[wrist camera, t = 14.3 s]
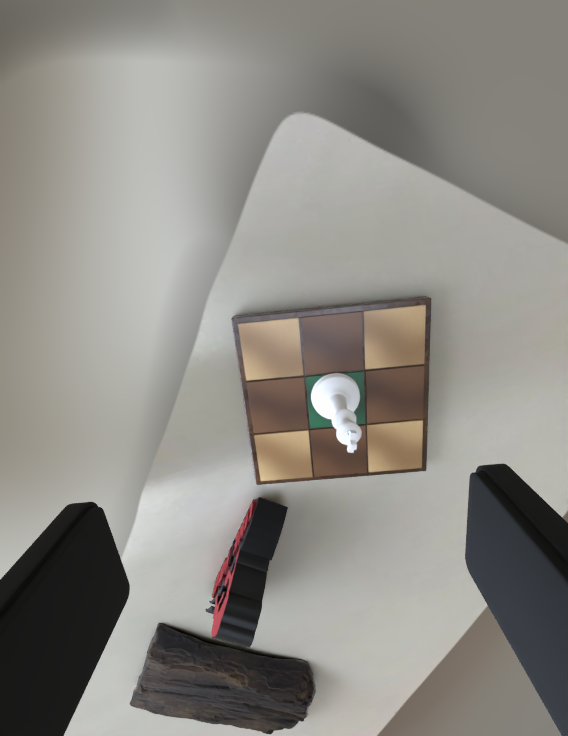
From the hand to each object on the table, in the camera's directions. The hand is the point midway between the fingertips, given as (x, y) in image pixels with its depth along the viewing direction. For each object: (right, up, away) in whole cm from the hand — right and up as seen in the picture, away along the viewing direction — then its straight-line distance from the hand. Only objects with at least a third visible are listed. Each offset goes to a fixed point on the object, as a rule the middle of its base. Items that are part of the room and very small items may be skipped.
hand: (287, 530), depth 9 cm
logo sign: (-5, -18, +34) cm, 39 cm away
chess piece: (+5, +1, +26) cm, 27 cm away
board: (+5, +1, +28) cm, 28 cm away
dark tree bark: (-8, -41, +41) cm, 59 cm away
